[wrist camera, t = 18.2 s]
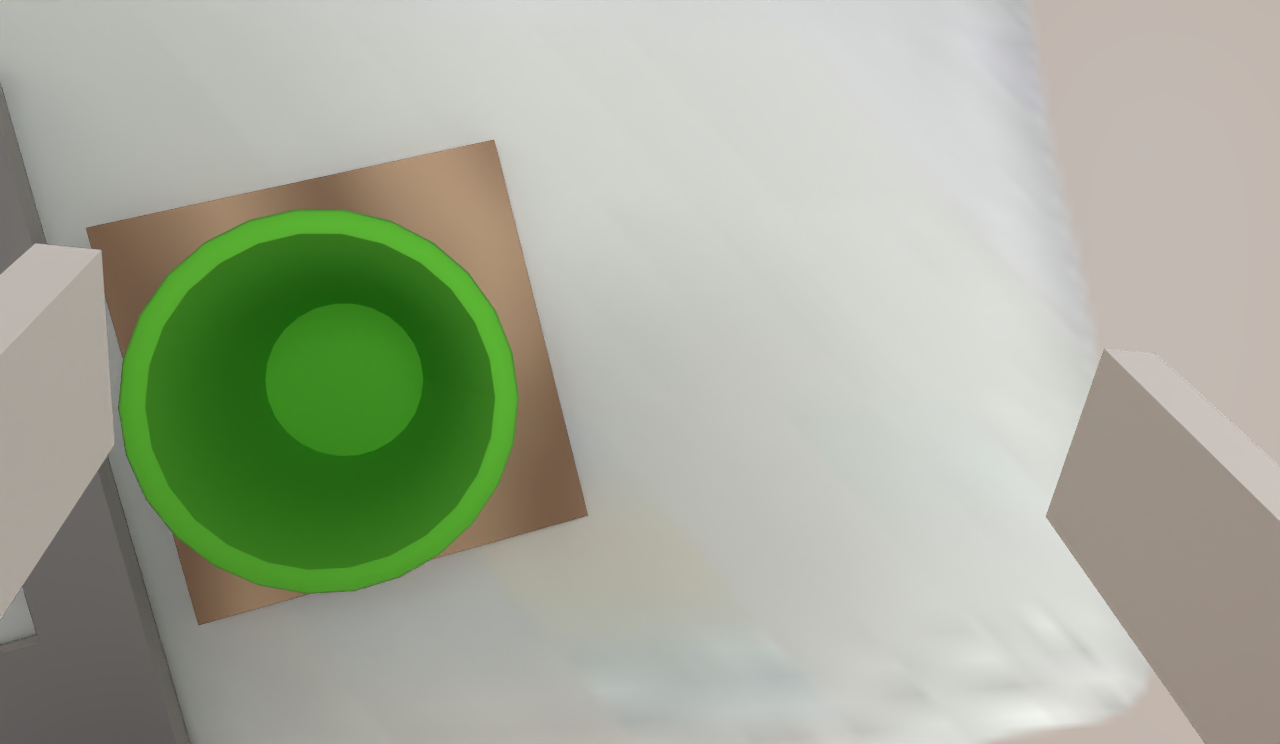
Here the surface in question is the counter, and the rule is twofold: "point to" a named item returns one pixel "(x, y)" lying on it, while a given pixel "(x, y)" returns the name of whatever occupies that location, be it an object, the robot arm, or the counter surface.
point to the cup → (318, 400)
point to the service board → (459, 225)
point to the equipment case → (80, 589)
